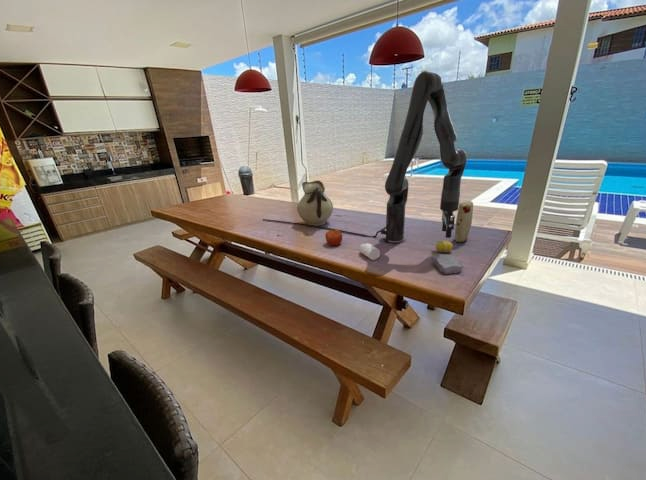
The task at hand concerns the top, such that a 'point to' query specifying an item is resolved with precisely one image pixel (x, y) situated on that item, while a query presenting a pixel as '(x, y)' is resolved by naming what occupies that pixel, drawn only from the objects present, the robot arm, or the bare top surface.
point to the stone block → (447, 264)
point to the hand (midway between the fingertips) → (446, 234)
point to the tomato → (333, 237)
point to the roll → (370, 251)
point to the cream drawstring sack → (314, 204)
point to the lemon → (444, 246)
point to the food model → (463, 221)
